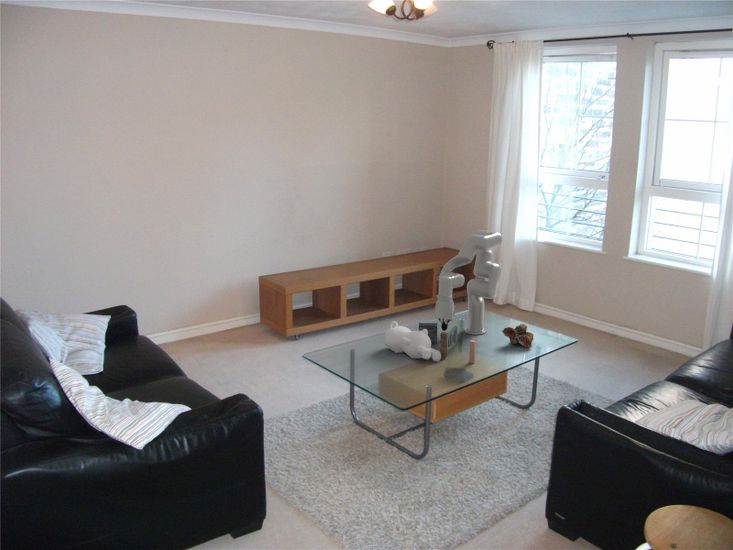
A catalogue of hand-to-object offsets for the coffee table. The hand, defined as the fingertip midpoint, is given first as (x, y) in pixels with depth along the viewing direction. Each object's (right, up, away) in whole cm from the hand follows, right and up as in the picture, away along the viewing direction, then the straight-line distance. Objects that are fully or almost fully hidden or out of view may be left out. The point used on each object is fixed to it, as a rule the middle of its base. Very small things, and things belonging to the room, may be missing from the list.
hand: (444, 330), depth 365 cm
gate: (+3, -10, -4) cm, 11 cm away
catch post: (+12, -15, -20) cm, 28 cm away
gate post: (-2, -14, -14) cm, 19 cm away
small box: (-8, -8, +10) cm, 15 cm away
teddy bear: (-20, -13, -9) cm, 25 cm away
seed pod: (+43, -9, +5) cm, 44 cm away
